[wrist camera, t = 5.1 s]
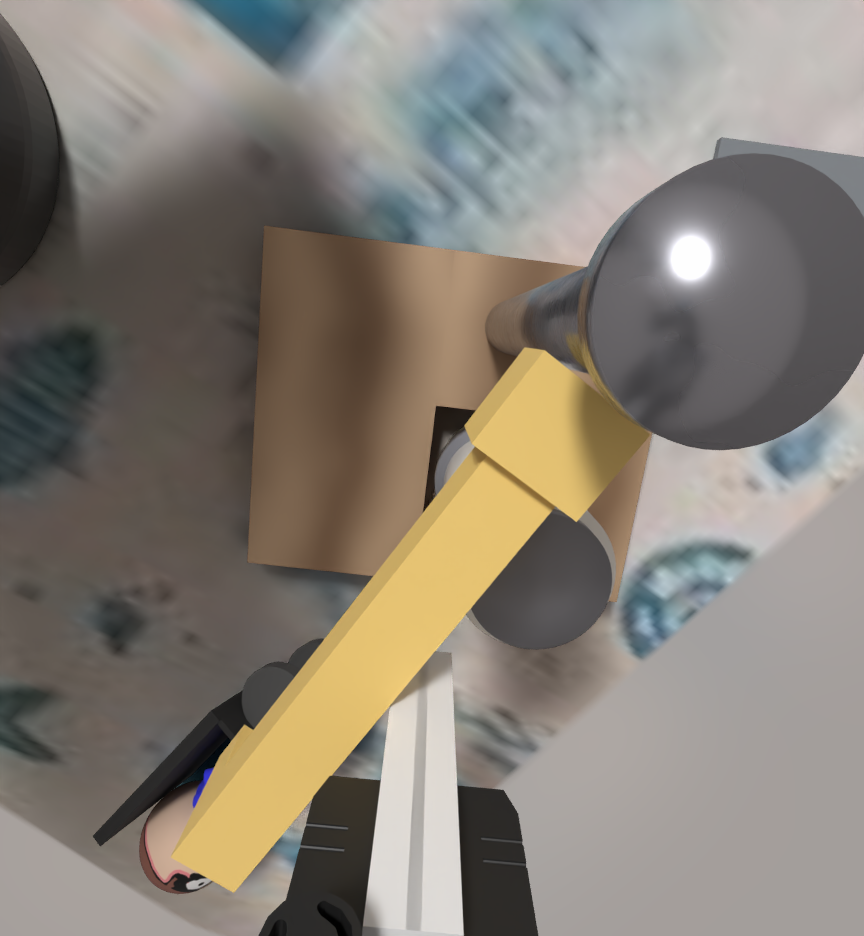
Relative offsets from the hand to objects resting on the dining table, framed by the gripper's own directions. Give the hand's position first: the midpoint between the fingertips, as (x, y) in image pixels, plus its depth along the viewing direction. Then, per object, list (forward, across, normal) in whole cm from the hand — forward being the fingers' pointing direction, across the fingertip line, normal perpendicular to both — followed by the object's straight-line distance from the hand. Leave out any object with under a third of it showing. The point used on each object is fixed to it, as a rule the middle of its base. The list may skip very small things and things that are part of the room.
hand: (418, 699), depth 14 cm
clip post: (+15, +3, +9) cm, 18 cm away
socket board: (+17, +1, +4) cm, 17 cm away
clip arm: (+1, -1, +2) cm, 3 cm away
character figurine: (+17, -8, -14) cm, 24 cm away
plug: (+17, +3, +2) cm, 17 cm away
